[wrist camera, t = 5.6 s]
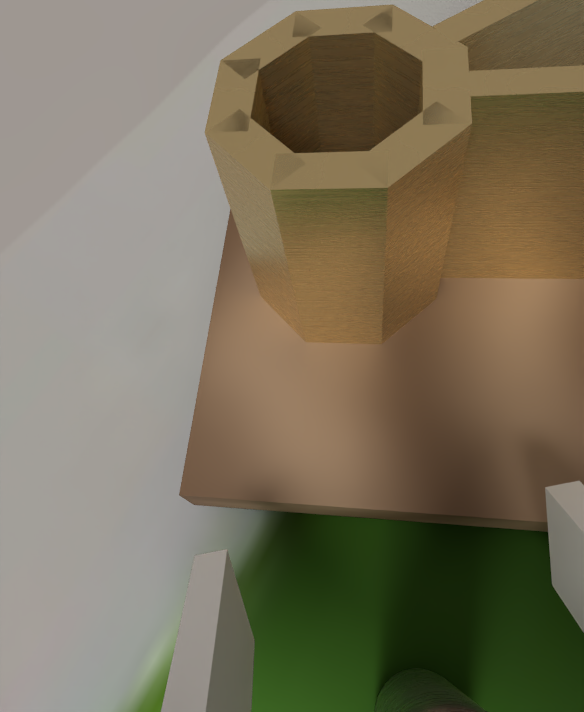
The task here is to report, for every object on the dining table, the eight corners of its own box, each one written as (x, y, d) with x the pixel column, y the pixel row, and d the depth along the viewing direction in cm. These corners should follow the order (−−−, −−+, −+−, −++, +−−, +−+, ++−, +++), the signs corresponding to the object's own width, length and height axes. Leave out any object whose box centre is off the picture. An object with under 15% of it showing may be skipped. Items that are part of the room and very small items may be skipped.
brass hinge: (633, 128, 20) (757, -101, 13) (685, 352, 16) (889, 179, 10) (282, 139, 22) (246, -56, 15) (254, 340, 18) (191, 191, 12)
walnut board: (625, 121, 22) (642, 89, 20) (719, 544, 15) (754, 537, 14) (255, 134, 24) (249, 105, 23) (193, 504, 17) (178, 495, 16)
